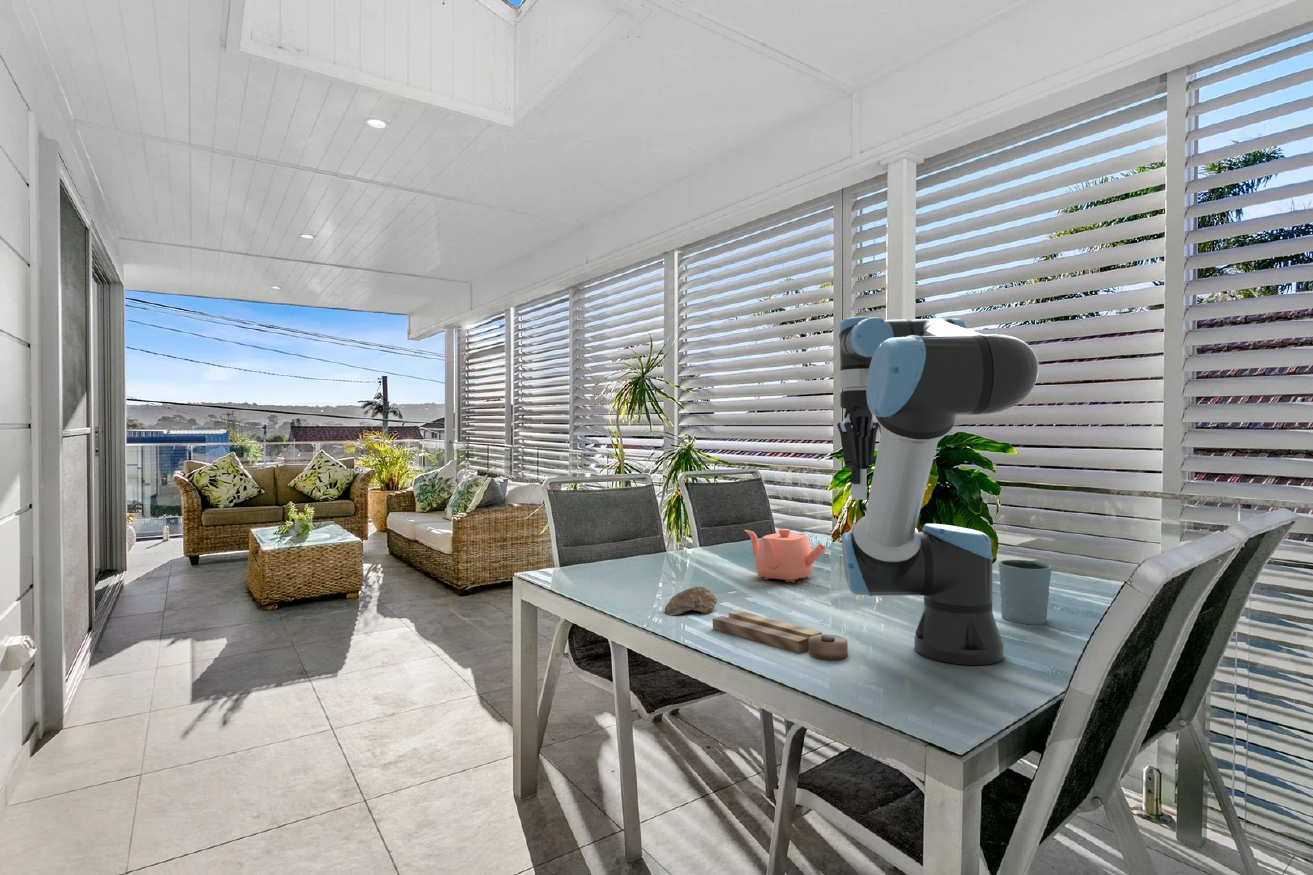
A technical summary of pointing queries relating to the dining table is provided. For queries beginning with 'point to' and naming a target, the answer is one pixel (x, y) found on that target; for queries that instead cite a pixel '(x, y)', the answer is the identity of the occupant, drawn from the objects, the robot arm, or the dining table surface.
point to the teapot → (784, 555)
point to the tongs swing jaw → (773, 624)
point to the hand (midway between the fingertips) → (859, 498)
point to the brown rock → (692, 601)
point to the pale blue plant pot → (1024, 590)
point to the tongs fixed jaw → (786, 639)
